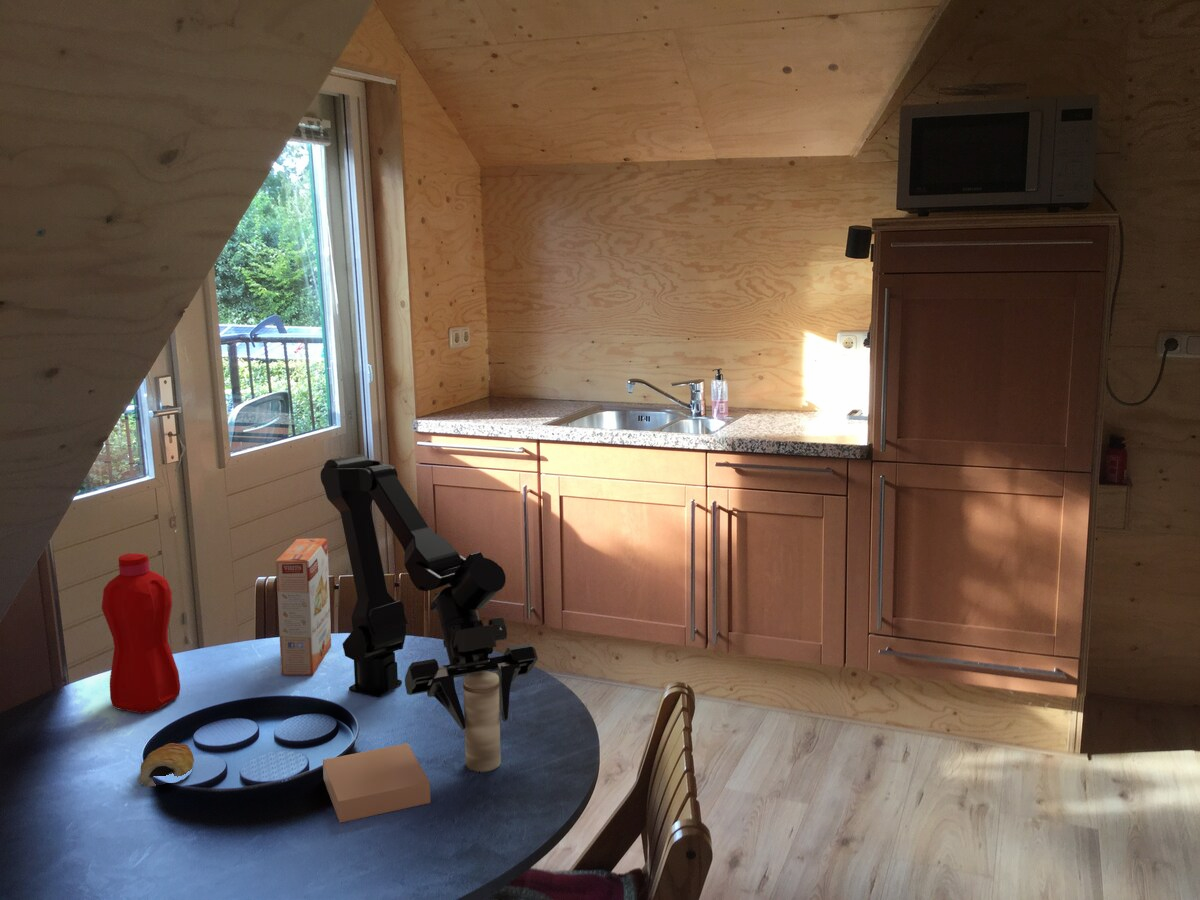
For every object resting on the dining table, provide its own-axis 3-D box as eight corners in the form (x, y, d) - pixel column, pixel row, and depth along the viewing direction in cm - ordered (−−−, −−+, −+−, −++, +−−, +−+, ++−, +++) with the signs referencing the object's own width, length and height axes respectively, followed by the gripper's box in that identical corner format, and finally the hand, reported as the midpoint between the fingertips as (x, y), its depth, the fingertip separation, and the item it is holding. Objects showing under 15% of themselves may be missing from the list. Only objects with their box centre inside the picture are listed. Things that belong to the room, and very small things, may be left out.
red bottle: (197, 690, 174) (185, 546, 169) (148, 718, 164) (134, 566, 159) (152, 682, 177) (140, 541, 172) (102, 709, 167) (87, 559, 162)
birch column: (458, 767, 149) (455, 681, 146) (477, 751, 153) (475, 668, 151) (488, 775, 146) (487, 688, 144) (507, 759, 151) (506, 674, 148)
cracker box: (315, 676, 179) (309, 560, 175) (280, 676, 179) (272, 560, 175) (334, 645, 193) (328, 536, 189) (301, 645, 193) (295, 536, 189)
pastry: (153, 757, 152) (151, 733, 151) (201, 753, 153) (200, 729, 152) (137, 790, 143) (135, 764, 142) (189, 786, 144) (187, 760, 143)
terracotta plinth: (339, 822, 134) (338, 801, 134) (323, 779, 145) (322, 759, 145) (430, 802, 139) (429, 782, 139) (408, 762, 150) (407, 743, 149)
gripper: (406, 609, 145) (429, 715, 137) (532, 591, 152) (561, 691, 145) (395, 643, 154) (416, 744, 146) (515, 624, 161) (541, 720, 153)
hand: (485, 724), depth 147 cm, fingers open, 6 cm apart
